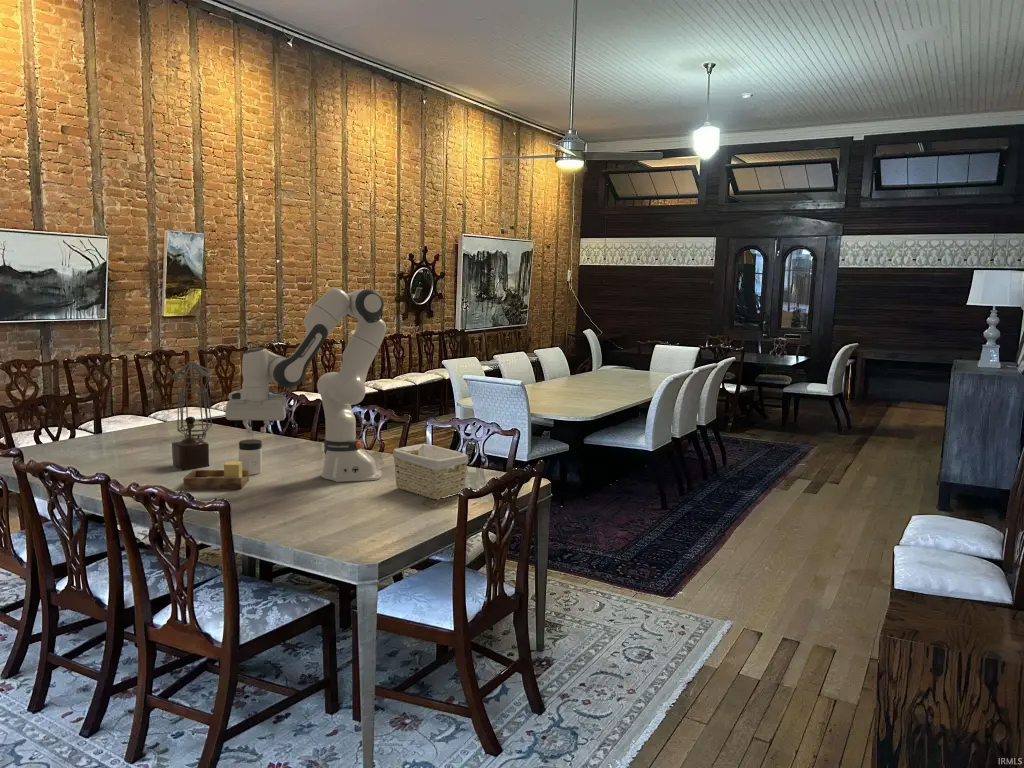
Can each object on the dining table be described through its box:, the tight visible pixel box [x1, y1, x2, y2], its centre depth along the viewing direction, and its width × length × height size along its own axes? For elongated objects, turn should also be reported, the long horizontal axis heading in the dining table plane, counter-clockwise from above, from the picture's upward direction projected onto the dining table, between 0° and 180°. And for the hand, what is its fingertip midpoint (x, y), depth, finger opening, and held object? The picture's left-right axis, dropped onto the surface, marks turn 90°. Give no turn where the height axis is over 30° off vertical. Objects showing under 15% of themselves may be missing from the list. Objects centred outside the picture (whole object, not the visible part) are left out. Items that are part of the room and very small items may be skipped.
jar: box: [238, 439, 263, 476], centre depth 288 cm, size 9×8×12 cm
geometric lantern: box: [170, 361, 213, 440], centre depth 345 cm, size 16×16×35 cm
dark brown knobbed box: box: [171, 416, 210, 471], centre depth 296 cm, size 16×11×18 cm
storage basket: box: [392, 443, 469, 500], centre depth 269 cm, size 24×16×15 cm
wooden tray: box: [182, 469, 250, 491], centre depth 269 cm, size 19×12×4 cm, turn 97°
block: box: [223, 460, 242, 478], centre depth 269 cm, size 5×5×6 cm
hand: (256, 432), depth 268 cm, fingers open, 3 cm apart
